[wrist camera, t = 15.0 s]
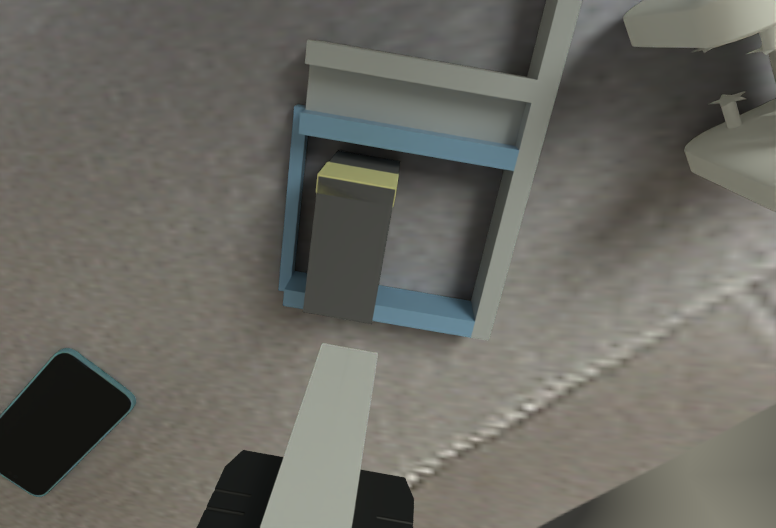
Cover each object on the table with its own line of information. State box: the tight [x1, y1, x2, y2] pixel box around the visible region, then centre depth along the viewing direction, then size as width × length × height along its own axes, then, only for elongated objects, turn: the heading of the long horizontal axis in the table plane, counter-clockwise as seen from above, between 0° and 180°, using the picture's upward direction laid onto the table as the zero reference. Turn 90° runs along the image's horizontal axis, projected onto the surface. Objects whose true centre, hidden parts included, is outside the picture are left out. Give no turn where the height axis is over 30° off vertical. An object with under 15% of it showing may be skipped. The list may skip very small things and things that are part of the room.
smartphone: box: [0, 348, 136, 497], centre depth 43 cm, size 7×1×15 cm
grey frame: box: [278, 0, 582, 341], centre depth 30 cm, size 27×14×3 cm, turn 171°
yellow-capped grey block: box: [303, 150, 400, 324], centre depth 32 cm, size 8×4×7 cm, turn 171°
